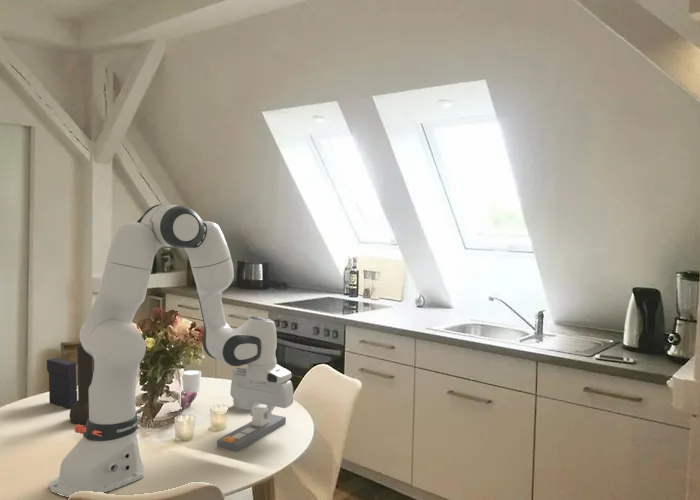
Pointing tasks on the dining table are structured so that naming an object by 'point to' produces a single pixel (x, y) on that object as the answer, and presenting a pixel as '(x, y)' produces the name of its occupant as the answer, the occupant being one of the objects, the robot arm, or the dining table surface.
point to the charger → (259, 415)
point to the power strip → (249, 434)
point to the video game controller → (187, 399)
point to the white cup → (191, 380)
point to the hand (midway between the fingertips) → (261, 417)
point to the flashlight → (82, 387)
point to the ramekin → (243, 404)
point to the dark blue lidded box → (62, 382)
